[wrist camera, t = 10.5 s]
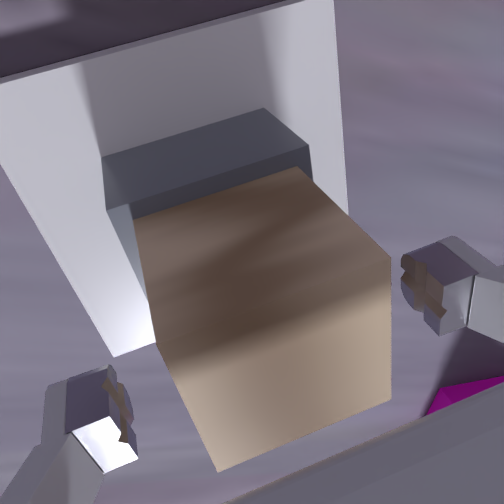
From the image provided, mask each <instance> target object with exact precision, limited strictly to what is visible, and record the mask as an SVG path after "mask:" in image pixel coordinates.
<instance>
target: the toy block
mask: <svg viewBox="0 0 504 504" xmlns="http://www.w3.org/2000/svg"><path fill="white" fill-rule="evenodd" d="M503 382H504V376H500V377H495V378H490V379H485V380H479V381H474V382H469V383H464V384H458V385H453V386H448V387H443V388H440V389H439V391H438V393H437V395H436V397H435V399H434V401H433V403H432V405H431V407H430V409H429V411H428V413H427V415H429V414H431V413H433V412H436V411H438V410H440V409H442V408H445V407H447V406H449V405H452V404H454V403H456V402H459V401H461V400H463V399H466V398H468V397H470V396H473V395H475V394H477V393H479V392H482V391H484V390H486V389H489V388H491V387H493V386H496V385H498V384H500V383H503Z"/></svg>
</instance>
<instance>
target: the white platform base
mask: <svg viewBox="0 0 504 504" xmlns="http://www.w3.org/2000/svg"><path fill="white" fill-rule="evenodd" d="M0 164H1V166H2V167H3V169H4V171H5V173H6V174H7V176H8V178H9V179H10V181H11V183H12V184H13V186H14V188H15V190H16V191H17V193H18V195H19V196H20V198H21V200H22V202H23V203H24V205H25V207H26V208H27V210H28V212H29V214H30V215H31V217H32V219H33V220H34V222H35V224H36V225H37V227H38V229H39V231H40V232H41V234H42V236H43V237H44V239H45V241H46V243H47V244H48V246H49V248H50V249H51V251H52V253H53V255H54V256H55V258H56V260H57V261H58V263H59V265H60V266H61V268H62V270H63V272H64V273H65V275H66V277H67V278H68V280H69V282H70V284H71V285H72V287H73V289H74V290H75V292H76V294H77V296H78V297H79V299H80V301H81V302H82V304H83V306H84V307H85V309H86V311H87V313H88V314H89V316H90V318H91V319H92V321H93V323H94V325H95V326H96V328H97V330H98V331H99V333H100V335H101V337H102V338H103V340H104V342H105V343H106V345H107V347H108V348H109V350H110V352H111V354H112V355H113V357H116V356H119V355H122V354H124V353H127V352H130V351H132V350H135V349H138V348H140V347H143V346H146V345H148V344H151V343H154V342H156V341H155V335H154V330H153V325H152V320H151V314H150V309H149V304H148V299H147V293H146V288H145V283H144V278H143V272H142V267H141V262H140V257H139V251H138V246H137V241H136V236H135V230H134V225H133V220H135V219H138V218H141V217H144V216H147V215H150V214H153V213H156V212H159V211H162V210H165V209H168V208H171V207H174V206H177V205H180V204H183V203H186V202H189V201H192V200H195V199H198V198H201V197H205V196H208V195H211V194H214V193H217V192H220V191H223V190H226V189H229V188H232V187H235V186H238V185H241V184H244V183H247V182H250V181H253V180H256V179H259V178H262V177H265V176H268V175H271V174H274V173H277V172H280V171H283V170H286V169H290V168H293V167H296V166H298V167H299V168H300V169H301V170H302V171H303V172H304V173H305V174H306V175H307V176H308V177H309V178H310V179H311V180H312V181H313V182H314V183H315V184H316V185H317V186H318V187H319V188H320V189H321V190H322V191H323V192H324V193H325V194H326V195H327V196H329V197H330V198H331V199H332V200H333V201H334V202H335V203H336V204H337V205H338V206H339V207H340V208H341V209H342V210H343V211H344V212H345V213H346V214H347V215H348V202H347V187H346V173H345V159H344V144H343V130H342V116H341V101H340V87H339V73H338V58H337V44H336V30H335V15H334V1H333V0H285V1H282V2H278V3H274V4H271V5H267V6H263V7H260V8H256V9H252V10H249V11H245V12H241V13H237V14H234V15H230V16H226V17H223V18H219V19H215V20H212V21H208V22H204V23H201V24H197V25H193V26H190V27H186V28H182V29H179V30H175V31H171V32H168V33H164V34H160V35H157V36H153V37H149V38H146V39H142V40H138V41H135V42H131V43H127V44H123V45H120V46H116V47H112V48H109V49H105V50H101V51H98V52H94V53H90V54H87V55H83V56H79V57H76V58H72V59H68V60H65V61H61V62H57V63H54V64H50V65H46V66H43V67H39V68H35V69H32V70H28V71H24V72H21V73H17V74H13V75H10V76H6V77H2V78H0Z"/></svg>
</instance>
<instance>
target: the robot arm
mask: <svg viewBox="0 0 504 504" xmlns="http://www.w3.org/2000/svg"><path fill="white" fill-rule="evenodd" d="M401 267H402V268H403V269H404V270H405V272H404V274H403V276H402V277H401V289H402V292H403V295H404V298H405V299H406V301H407V302H408V304H409V305H410V306H411V307H412V308H413V309H414V310H417V311H420V312H423V313H424V321H425V322H426V323H427V324H428V325H429V326H430V327H431V328H432V329H433V331H434V332H435V333H436V334H437V335H438V336H442V335H445V334H447V333H450V332H453V331H455V330H458V329H461V328H463V327H466V326H468V327H467V328H470V329H472V330H474V331H477V332H479V333H481V334H483V335H486V336H488V337H490V338H493V339H495V340H497V341H499V342H502V343H504V265H501V266H498V267H497V266H496V265H495V264H493V263H492V262H491V261H489V260H488V259H486V258H485V257H484V256H482V255H481V254H480V253H478V252H477V251H476V250H474V249H473V248H472V247H470V246H469V245H468V244H466V243H465V242H463V241H462V240H461V239H459V238H458V237H456V236H450V237H447V238H445V239H442V240H440V241H437V242H435V243H432V244H429V245H427V246H424V247H422V248H419V249H416V250H414V251H411V252H408V253H406V254H403V256H402V258H401ZM133 420H134V415H133V408H132V405H131V401H130V397H129V395H128V393H127V390H126V389H125V387H124V385H123V384H121V383H118V382H117V375H116V372H115V370H114V369H113V367H112V366H111V365H105V366H102V367H99V368H96V369H94V370H91V371H88V372H85V373H82V374H79V375H76V376H73V377H70V378H69V379H66V380H63V381H60V382H57V383H54V384H51V385H49V386H48V388H47V390H46V392H45V402H44V413H43V424H42V435H41V444H40V445H38V446H35V447H34V448H33V450H32V451H31V453H30V454H29V456H28V457H27V459H26V460H25V462H24V463H23V465H22V466H21V468H20V469H19V471H18V472H17V474H16V475H15V477H14V478H13V480H12V481H11V483H10V484H9V486H8V487H7V489H6V490H5V492H4V493H3V495H2V496H1V497H0V504H93V503H94V500H95V498H96V496H97V493H98V491H99V488H100V486H101V484H102V481H103V479H104V476H105V475H104V473H106V472H108V471H111V470H113V469H115V468H118V467H120V466H122V465H125V464H127V463H129V462H131V461H134V460H136V459H138V452H137V443H136V434H135V433H134V431H133V430H132V428H131V424H132V422H133ZM223 504H504V382H503V383H500V384H498V385H496V386H493V387H491V388H489V389H486V390H484V391H482V392H479V393H477V394H475V395H473V396H470V397H468V398H466V399H463V400H461V401H459V402H456V403H454V404H452V405H449V406H447V407H445V408H442V409H440V410H438V411H436V412H433V413H431V414H429V415H426V416H424V417H422V418H419V419H417V420H415V421H412V422H410V423H408V424H405V425H403V426H401V427H399V428H396V429H394V430H392V431H389V432H387V433H385V434H382V435H380V436H378V437H375V438H373V439H371V440H368V441H366V442H364V443H362V444H359V445H357V446H355V447H352V448H350V449H348V450H345V451H343V452H341V453H338V454H336V455H334V456H331V457H329V458H327V459H324V460H322V461H320V462H318V463H315V464H313V465H311V466H308V467H306V468H304V469H301V470H299V471H297V472H294V473H292V474H290V475H287V476H285V477H283V478H280V479H278V480H276V481H274V482H271V483H269V484H267V485H264V486H262V487H260V488H257V489H255V490H253V491H250V492H248V493H246V494H243V495H241V496H239V497H236V498H234V499H232V500H229V501H227V502H225V503H223Z"/></svg>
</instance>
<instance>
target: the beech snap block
mask: <svg viewBox="0 0 504 504" xmlns="http://www.w3.org/2000/svg"><path fill="white" fill-rule="evenodd" d="M133 225H134V230H135V236H136V241H137V246H138V251H139V257H140V262H141V267H142V272H143V278H144V283H145V288H146V293H147V299H148V304H149V309H150V314H151V320H152V325H153V330H154V335H155V341H156V345H157V347H158V349H159V351H160V354H161V356H162V358H163V360H164V362H165V364H166V366H167V368H168V370H169V372H170V374H171V376H172V378H173V380H174V383H175V385H176V387H177V389H178V391H179V393H180V395H181V397H182V399H183V401H184V403H185V405H186V407H187V409H188V412H189V414H190V416H191V418H192V420H193V422H194V424H195V426H196V428H197V430H198V432H199V434H200V436H201V438H202V441H203V443H204V445H205V447H206V449H207V451H208V453H209V455H210V457H211V459H212V461H213V463H214V465H215V467H216V470H217V472H220V471H223V470H225V469H227V468H230V467H232V466H234V465H237V464H239V463H242V462H244V461H246V460H249V459H251V458H253V457H256V456H258V455H261V454H263V453H265V452H268V451H270V450H272V449H275V448H277V447H279V446H282V445H284V444H287V443H289V442H291V441H294V440H296V439H298V438H301V437H303V436H306V435H308V434H310V433H313V432H315V431H317V430H320V429H322V428H324V427H327V426H329V425H332V424H334V423H336V422H339V421H341V420H343V419H346V418H348V417H350V416H353V415H355V414H358V413H360V412H362V411H365V410H367V409H369V408H372V407H374V406H377V405H379V404H381V403H384V402H386V401H388V400H391V257H390V256H389V255H388V254H387V253H386V252H385V251H384V250H383V249H382V248H381V247H380V246H379V245H378V244H377V243H376V242H375V241H374V240H373V239H372V238H371V237H370V236H369V235H368V234H367V233H365V232H364V231H363V230H362V229H361V228H360V227H359V226H358V225H357V224H356V223H355V222H354V221H353V220H352V219H351V218H350V217H349V216H348V215H347V214H346V213H345V212H344V211H343V210H342V209H341V208H340V207H339V206H338V205H337V204H336V203H335V202H334V201H333V200H332V199H331V198H330V197H329V196H327V195H326V194H325V193H324V192H323V191H322V190H321V189H320V188H319V187H318V186H317V185H316V184H315V183H314V182H313V181H312V180H311V179H310V178H309V177H308V176H307V175H306V174H305V173H304V172H303V171H302V170H301V169H300V168H299V167H298V166H296V167H293V168H290V169H286V170H283V171H280V172H277V173H274V174H271V175H268V176H265V177H262V178H259V179H256V180H253V181H250V182H247V183H244V184H241V185H238V186H235V187H232V188H229V189H226V190H223V191H220V192H217V193H214V194H211V195H208V196H205V197H201V198H198V199H195V200H192V201H189V202H186V203H183V204H180V205H177V206H174V207H171V208H168V209H165V210H162V211H159V212H156V213H153V214H150V215H147V216H144V217H141V218H138V219H135V220H133Z"/></svg>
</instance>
